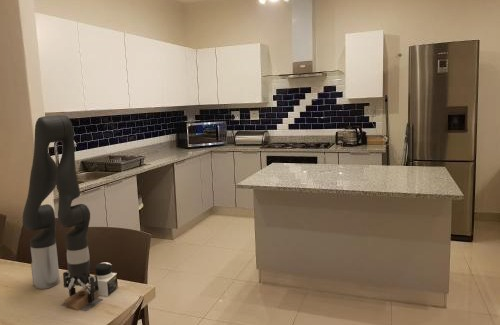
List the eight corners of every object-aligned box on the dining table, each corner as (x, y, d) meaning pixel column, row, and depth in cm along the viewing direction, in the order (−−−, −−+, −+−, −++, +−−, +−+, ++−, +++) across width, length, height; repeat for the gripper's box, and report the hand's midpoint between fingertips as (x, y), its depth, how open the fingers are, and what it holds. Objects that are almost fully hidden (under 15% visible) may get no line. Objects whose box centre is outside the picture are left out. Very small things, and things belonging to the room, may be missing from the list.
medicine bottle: (108, 298, 153) (106, 269, 151) (91, 296, 154) (89, 267, 152) (118, 289, 160) (116, 261, 158) (102, 287, 161) (99, 260, 159)
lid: (65, 307, 145) (64, 297, 144) (85, 294, 154) (84, 284, 153) (78, 310, 143) (77, 300, 142) (98, 297, 152) (97, 287, 151)
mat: (60, 307, 147) (60, 305, 146) (79, 296, 155) (78, 293, 155) (86, 313, 142) (86, 311, 142) (103, 301, 151) (103, 299, 151)
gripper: (55, 260, 145) (59, 301, 147) (86, 265, 139) (90, 308, 142) (71, 252, 151) (75, 292, 154) (101, 257, 146) (104, 298, 149)
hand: (82, 300), depth 148 cm, fingers open, 8 cm apart
